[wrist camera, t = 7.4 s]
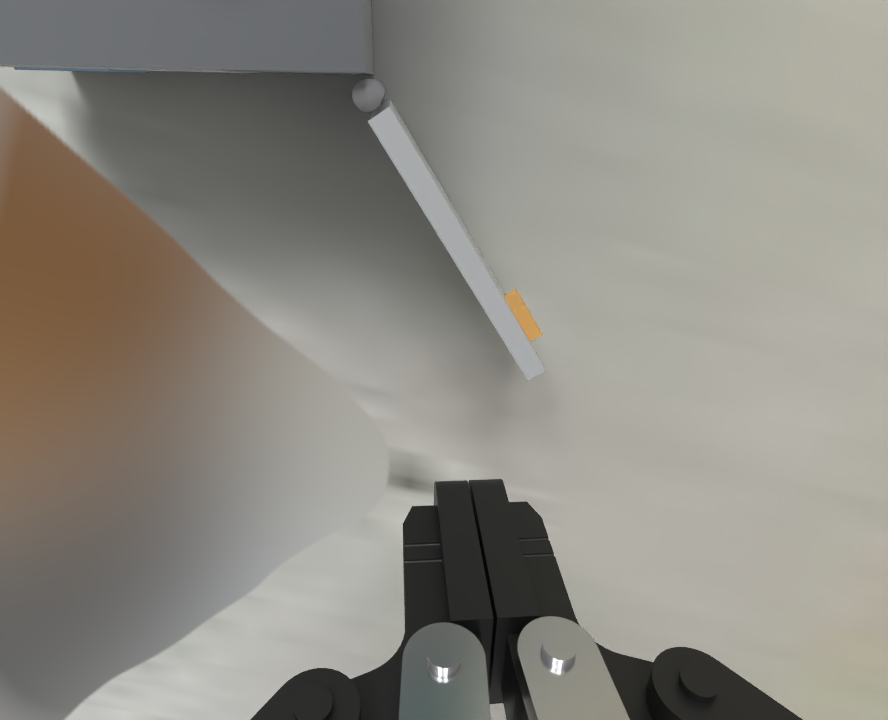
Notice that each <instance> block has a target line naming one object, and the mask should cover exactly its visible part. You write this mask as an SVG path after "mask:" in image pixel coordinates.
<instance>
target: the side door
mask: <svg viewBox="0 0 888 720" xmlns="http://www.w3.org/2000/svg"><path fill="white" fill-rule="evenodd" d="M384 95H385V88H384V85H383V84H382V83H381V82H380V81H379V80H377V79H362V80H360V81H358V82H357V83H356V84H355V85H354V87H353V90H352V99H353V102H354V104H355V105H356V106H357V108H359V109H360V110H362V111H365V112H371V111H373V113H372V115H371V116H370V118H369V120H368V123H369V124H370V126H371V128H372V129H373V131H374V133H375V134H376V136H377V137H378V139H379V141H380V142H381V144H382V146H383V147H384V149H385V150H386V152H387V154H388V155H389V157H390V159H391V160H392V162H393V163H394V165H395V167H396V168H397V170H398V171H399V173H400V175H401V176H402V178H403V180H404V181H405V183H406V184H407V186H408V188H409V189H410V191H411V193H412V194H413V196H414V197H415V199H416V201H417V202H418V204H419V206H420V207H421V209H422V210H423V212H424V214H425V215H426V217H427V218H428V220H429V222H430V223H431V225H432V227H433V228H434V230H435V231H436V233H437V235H438V236H439V238H440V240H441V241H442V243H443V244H444V246H445V248H446V249H447V251H448V252H449V254H450V256H451V257H452V259H453V261H454V262H455V264H456V265H457V267H458V269H459V270H460V272H461V274H462V275H463V277H464V278H465V280H466V282H467V283H468V285H469V287H470V288H471V290H472V291H473V293H474V295H475V296H476V298H477V299H478V301H479V303H480V304H481V306H482V308H483V309H484V311H485V312H486V314H487V316H488V317H489V319H490V321H491V322H492V324H493V325H494V327H495V329H496V330H497V332H498V334H499V335H500V337H501V338H502V340H503V342H504V343H505V345H506V346H507V348H508V350H509V351H510V353H511V355H512V356H513V358H514V359H515V361H516V363H517V364H518V366H519V368H520V369H521V371H522V372H523V374H524V376H525V377H526V379H527V381H528V380H530V379H532V378H534V377H535V376H537V375H539V374H541V373H543V372H545V371H546V370H545V368H544V366H543V364H542V362H541V361H540V359H539V357H538V355H537V353H536V351H535V349H534V347H533V345H532V344H531V341H533V340H535V339H536V338H538V337H540V336H542V335H543V334H542V332H541V331H540V329H539V327H538V325H537V324H536V322H535V320H534V318H533V317H532V315H531V313H530V311H529V310H528V308H527V306H526V304H525V303H524V301H523V299H522V298H521V296H520V294H519V293H518V291H517V289H515V290H513V291H512V292H510V293H508V294H507V295H505V294H504V292H503V290H502V289H501V287H500V285H499V283H498V282H497V280H496V278H495V277H494V275H493V273H492V272H491V270H490V268H489V266H488V265H487V263H486V261H485V260H484V258H483V256H482V255H481V253H480V251H479V249H478V248H477V246H476V244H475V243H474V241H473V239H472V238H471V236H470V234H469V232H468V231H467V229H466V227H465V226H464V224H463V222H462V221H461V219H460V217H459V215H458V214H457V212H456V210H455V209H454V207H453V205H452V204H451V202H450V200H449V198H448V197H447V195H446V193H445V192H444V190H443V188H442V187H441V185H440V183H439V181H438V180H437V178H436V176H435V175H434V173H433V171H432V170H431V168H430V166H429V164H428V163H427V161H426V159H425V158H424V156H423V154H422V153H421V151H420V149H419V147H418V146H417V144H416V142H415V141H414V139H413V137H412V136H411V134H410V132H409V130H408V129H407V127H406V125H405V124H404V122H403V120H402V119H401V117H400V115H399V113H398V112H397V110H396V108H395V107H394V105H393V103H392V102H391V100H388V101H387V102H385V103H384V104H382V105H381V106H380V104H381V102H382V100H383V97H384Z"/></svg>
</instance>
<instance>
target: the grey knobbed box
mask: <svg viewBox="0 0 888 720" xmlns="http://www.w3.org/2000/svg"><path fill="white" fill-rule="evenodd" d="M0 67H14V69H16V70H55V71H97V72H140V73H149V72H148V71H184V72H226V73H260V72H277V73H319V74H361V75H374V67H373V35H372V3H371V0H0Z"/></svg>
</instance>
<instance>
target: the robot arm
mask: <svg viewBox="0 0 888 720" xmlns="http://www.w3.org/2000/svg"><path fill="white" fill-rule="evenodd" d="M403 560H404V607H405V634H404V638H403V641H402V643H401V646H400V647H399V649H398V650H397V652H396V653H395V654H394V655H393V657H392V658H391V659H390V660H388V661H387V662H386V663H385V664H383V665H382V666H380V667H379V668H377V669H375V670H372V671H370V672H368V673H365V674H363V675H360V676H358V677H355V678H353V679H349V678H348V677H347V676H346V675H344V674H343V673H341V672H339V671H336V670H333V669H327V668H317V669H311V670H308V671H305V672H302V673H300V674H298V675H296V676H294V677H293V678H292V679H290V680H289V681H288V682H286V683H285V684H284V685H283V686H282V687H281V688H280V689H279V690H278V691H277V692H276V693H275V694H274V696H273V697H272V698H271V699H270V700H269V701H268V702H267V703H266V704H265V705H264V706H263V707H262V708H261V709H260V710H259V711H258V712H257V713H256V714H255V716H254V717H253V718H252V719H251V720H491V718H490V706H489V704H496V703H504V708H505V714H506V719H507V720H802V719H801V718H800V717H798V716H797V715H795V714H794V713H792V712H791V711H789V710H788V709H787V708H785V707H784V706H782V705H781V704H779V703H778V702H777V701H775V700H774V699H772V698H771V697H769V696H768V695H766V694H765V693H764V692H762V691H761V690H759V689H758V688H756V687H755V686H753V685H752V684H751V683H749V682H748V681H746V680H745V679H743V678H742V677H741V676H739V675H738V674H736V673H735V672H733V671H732V670H730V669H729V668H728V667H726V666H725V665H723V664H722V663H720V662H719V661H717V660H716V659H714V658H713V657H711V656H710V655H708V654H706V653H704V652H701V651H699V650H696V649H692V648H687V647H674V648H670V649H667V650H665V651H663V652H661V653H660V654H659V655H658V656H657V658H656V659H655V661H654V662H650V661H646V660H642V659H638V658H634V657H630V656H626V655H622V654H618V653H615V652H612V651H610V650H608V649H606V648H604V647H602V646H601V645H599V644H598V643H596V642H595V641H594V639H593V638H592V637H591V635H590V634H589V633H588V632H587V631H586V630H585V629H584V628H582V627H581V626H580V625H579V623H578V622H577V619H576V617H575V614H574V611H573V609H572V606H571V603H570V600H569V597H568V594H567V591H566V588H565V585H564V582H563V579H562V576H561V573H560V570H559V567H558V564H557V561H556V558H555V557H554V554H553V550H552V547H551V544H550V541H549V540H548V535H547V532H546V529H545V526H544V523H543V520H542V518H541V516H540V515H539V514H538V513H537V512H536V511H535V510H534V509H533V508H532V507H531V506H530V505H529V503H528V502H509V501H508V497H507V494H506V490H505V486H504V483H503V481H502V479H490V480H469V483H468V481H440V482H435V483H434V506H412V508H411V510H410V511H409V513H408V515H407V517H406V519H405V521H404V523H403Z"/></svg>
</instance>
